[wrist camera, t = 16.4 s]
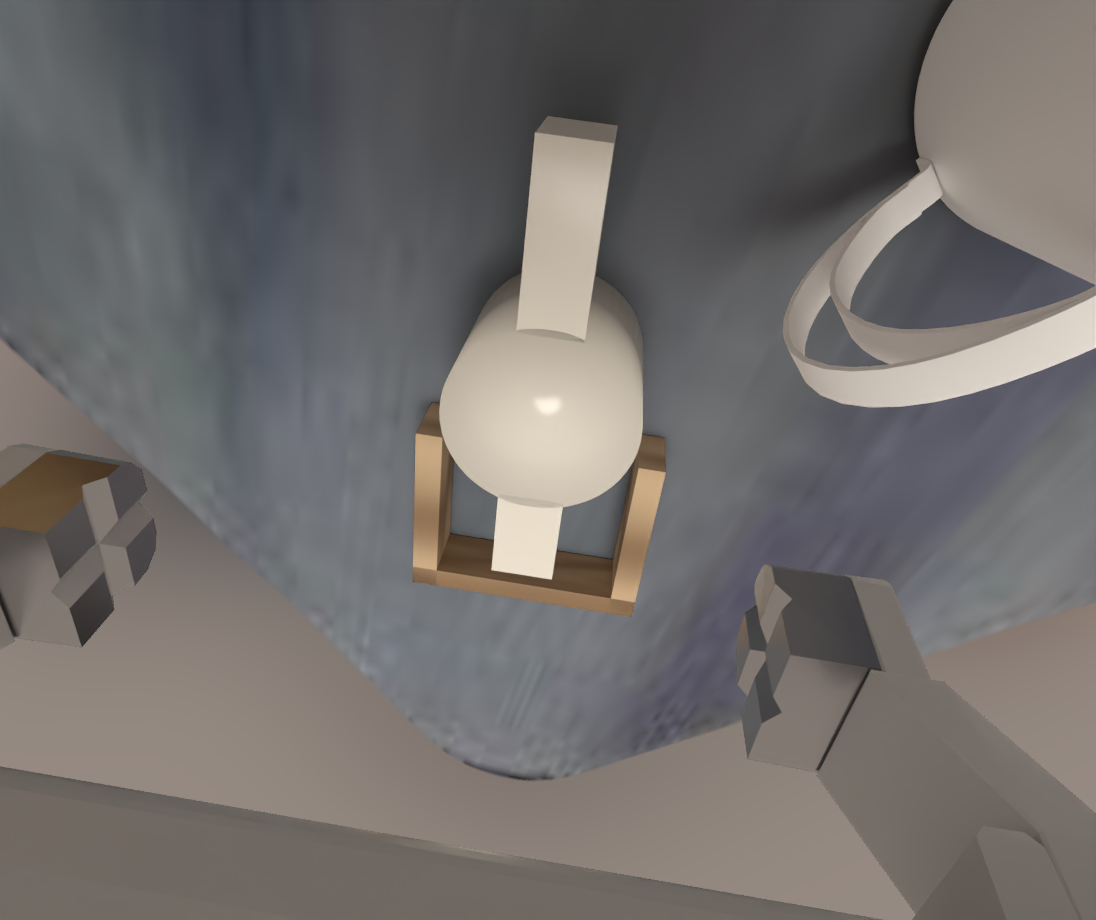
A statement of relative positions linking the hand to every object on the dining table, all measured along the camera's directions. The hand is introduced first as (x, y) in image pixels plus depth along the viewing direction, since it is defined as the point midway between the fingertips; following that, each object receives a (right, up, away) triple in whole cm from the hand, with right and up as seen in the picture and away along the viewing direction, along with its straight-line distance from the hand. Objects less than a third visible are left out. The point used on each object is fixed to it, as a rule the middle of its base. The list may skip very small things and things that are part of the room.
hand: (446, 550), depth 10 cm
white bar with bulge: (+2, +7, +23) cm, 24 cm away
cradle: (+1, 0, +28) cm, 28 cm away
